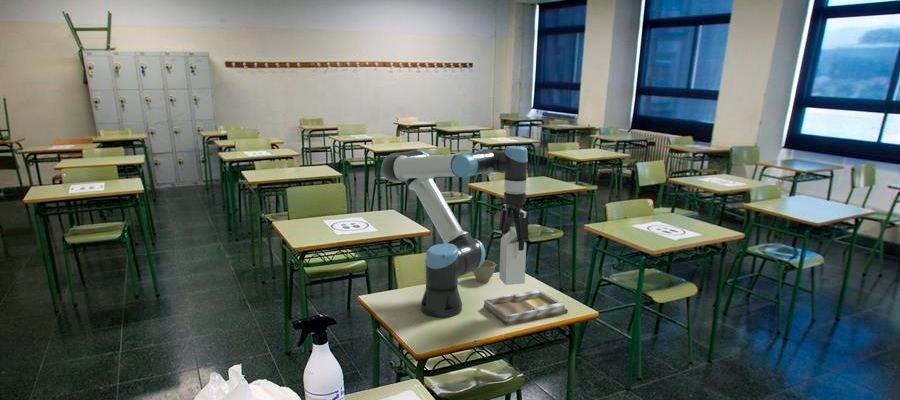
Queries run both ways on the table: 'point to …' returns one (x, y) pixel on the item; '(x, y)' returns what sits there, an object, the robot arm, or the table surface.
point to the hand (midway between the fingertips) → (512, 255)
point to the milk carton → (511, 260)
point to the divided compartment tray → (524, 307)
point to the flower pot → (485, 271)
